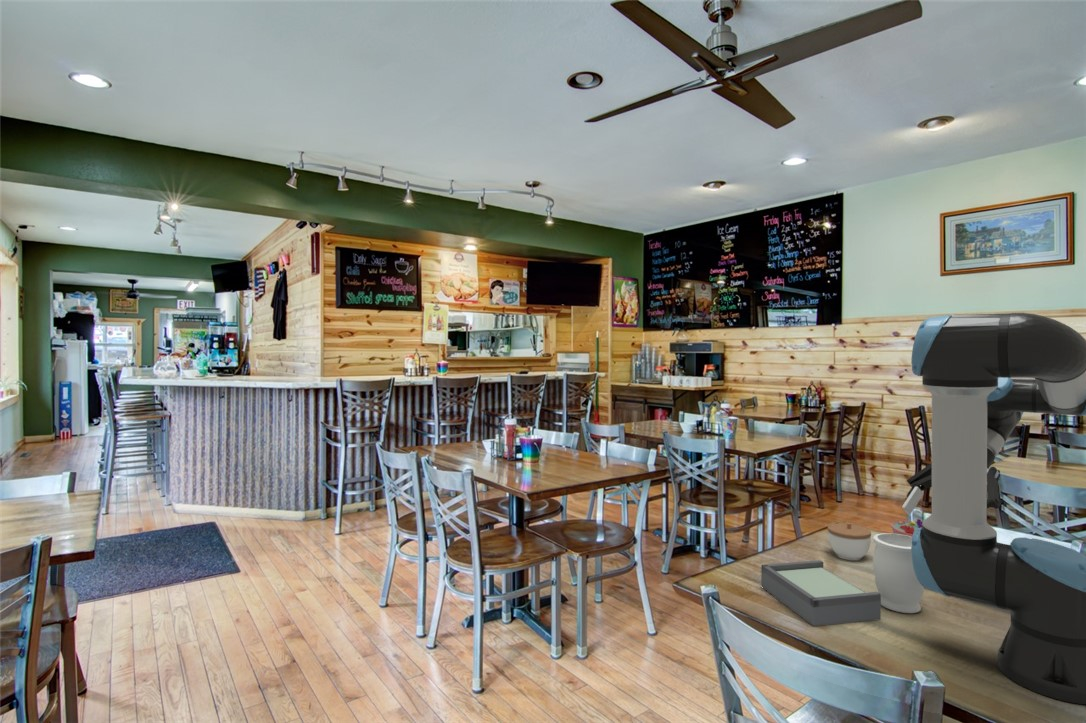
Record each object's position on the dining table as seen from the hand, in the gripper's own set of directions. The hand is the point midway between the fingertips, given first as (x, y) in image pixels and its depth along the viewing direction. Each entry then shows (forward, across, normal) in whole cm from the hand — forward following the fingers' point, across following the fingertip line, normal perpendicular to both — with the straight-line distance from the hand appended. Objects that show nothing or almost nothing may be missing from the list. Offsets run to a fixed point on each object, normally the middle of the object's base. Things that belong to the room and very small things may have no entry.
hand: (933, 518), depth 133 cm
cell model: (-2, +16, -29) cm, 33 cm away
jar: (+21, 0, -5) cm, 22 cm away
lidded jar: (+11, +26, -16) cm, 33 cm away
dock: (+32, +8, +6) cm, 34 cm away
